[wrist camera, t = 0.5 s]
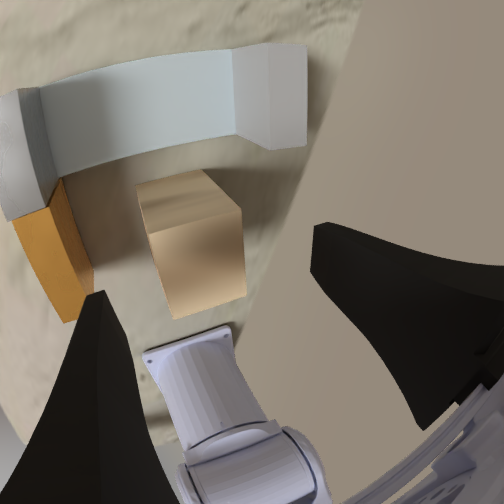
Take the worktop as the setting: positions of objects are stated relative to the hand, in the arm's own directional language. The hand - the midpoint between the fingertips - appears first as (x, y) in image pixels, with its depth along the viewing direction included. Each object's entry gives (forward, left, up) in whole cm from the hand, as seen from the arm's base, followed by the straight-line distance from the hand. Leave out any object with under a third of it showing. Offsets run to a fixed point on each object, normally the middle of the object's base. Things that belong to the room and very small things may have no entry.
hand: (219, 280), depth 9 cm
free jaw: (+2, +7, -9) cm, 11 cm away
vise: (+5, +1, -9) cm, 11 cm away
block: (-2, 0, -9) cm, 10 cm away
